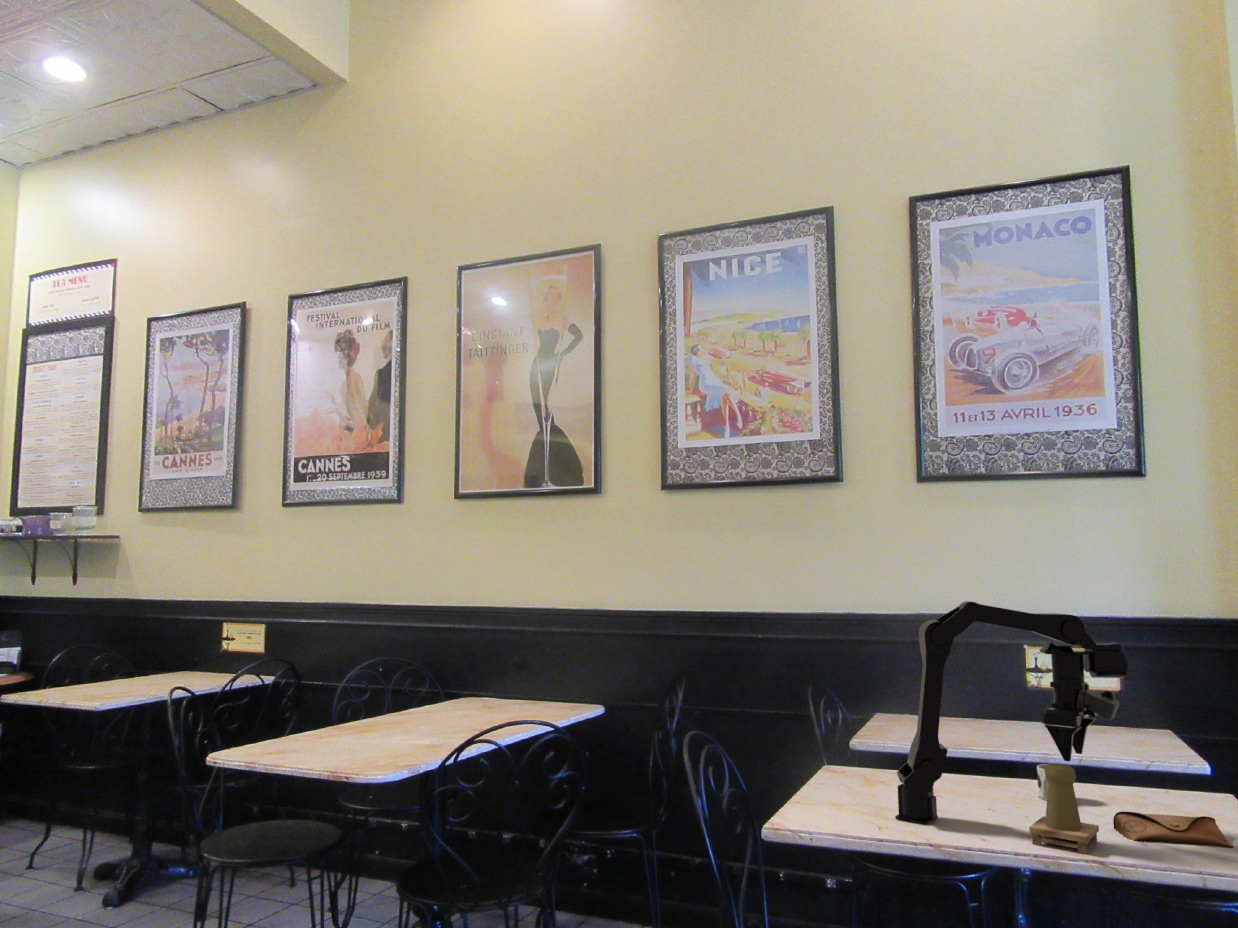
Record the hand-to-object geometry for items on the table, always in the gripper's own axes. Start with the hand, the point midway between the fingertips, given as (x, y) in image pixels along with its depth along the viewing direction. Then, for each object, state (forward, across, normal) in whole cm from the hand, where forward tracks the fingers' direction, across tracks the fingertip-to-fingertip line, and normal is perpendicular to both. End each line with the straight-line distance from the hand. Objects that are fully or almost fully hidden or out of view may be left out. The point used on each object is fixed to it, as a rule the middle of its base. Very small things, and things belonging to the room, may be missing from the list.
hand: (1073, 757), depth 172 cm
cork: (+10, -14, -1) cm, 17 cm away
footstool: (+13, -14, -1) cm, 19 cm away
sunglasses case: (+14, +3, -16) cm, 21 cm away
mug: (+13, +18, +9) cm, 24 cm away
